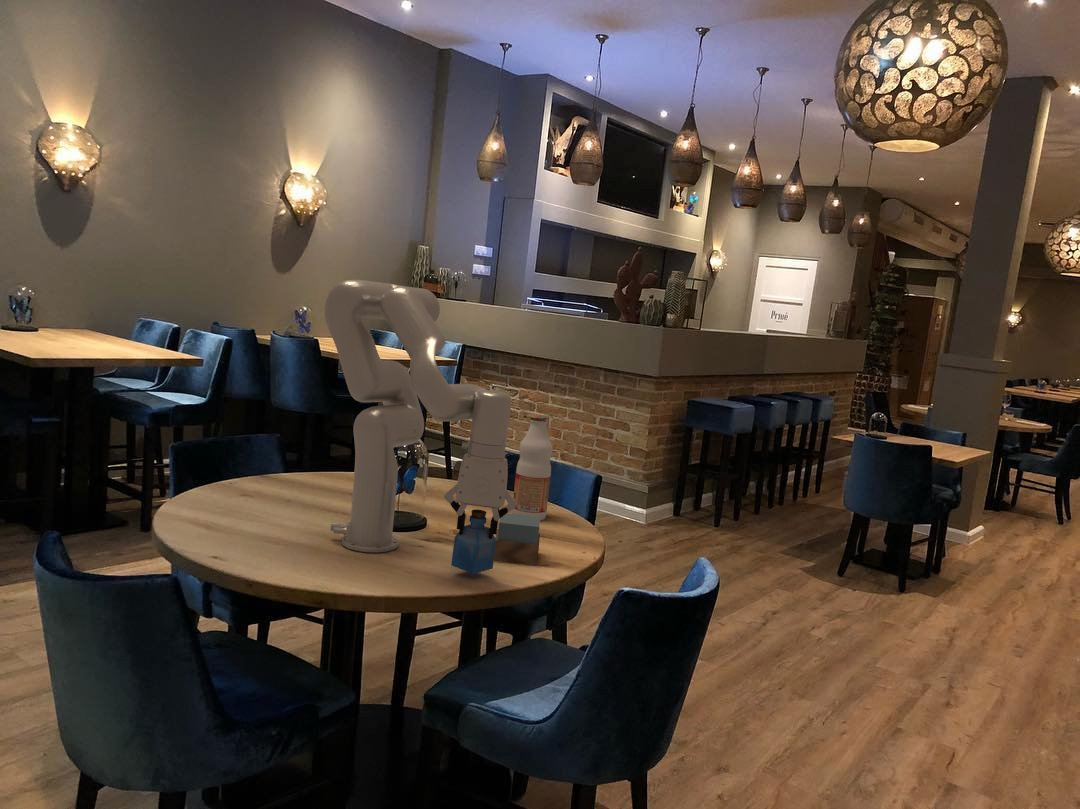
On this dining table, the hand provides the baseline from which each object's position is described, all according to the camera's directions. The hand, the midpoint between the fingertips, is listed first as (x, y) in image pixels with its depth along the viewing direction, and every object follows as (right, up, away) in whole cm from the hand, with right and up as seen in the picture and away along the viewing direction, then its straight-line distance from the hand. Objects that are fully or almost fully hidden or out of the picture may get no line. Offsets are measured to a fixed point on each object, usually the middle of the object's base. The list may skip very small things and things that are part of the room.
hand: (476, 534), depth 178 cm
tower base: (+8, -8, +18) cm, 21 cm away
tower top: (+8, -3, +17) cm, 19 cm away
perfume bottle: (-1, -7, +1) cm, 7 cm away
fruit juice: (+10, -4, +55) cm, 56 cm away
